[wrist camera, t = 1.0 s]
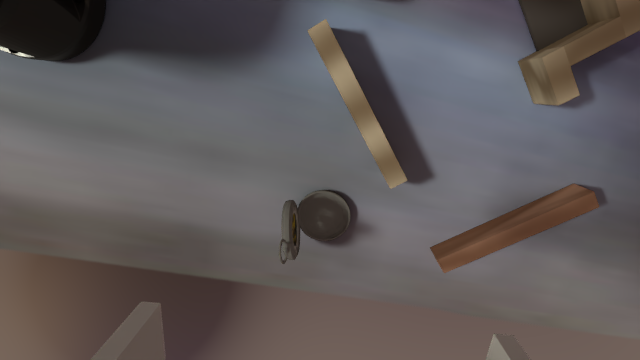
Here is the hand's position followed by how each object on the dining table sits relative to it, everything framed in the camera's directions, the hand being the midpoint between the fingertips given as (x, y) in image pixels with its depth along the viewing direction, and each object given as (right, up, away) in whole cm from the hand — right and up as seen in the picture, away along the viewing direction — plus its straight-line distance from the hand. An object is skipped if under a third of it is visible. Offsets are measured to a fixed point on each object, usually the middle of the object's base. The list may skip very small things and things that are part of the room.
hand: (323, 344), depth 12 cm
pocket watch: (-1, +3, +27) cm, 27 cm away
